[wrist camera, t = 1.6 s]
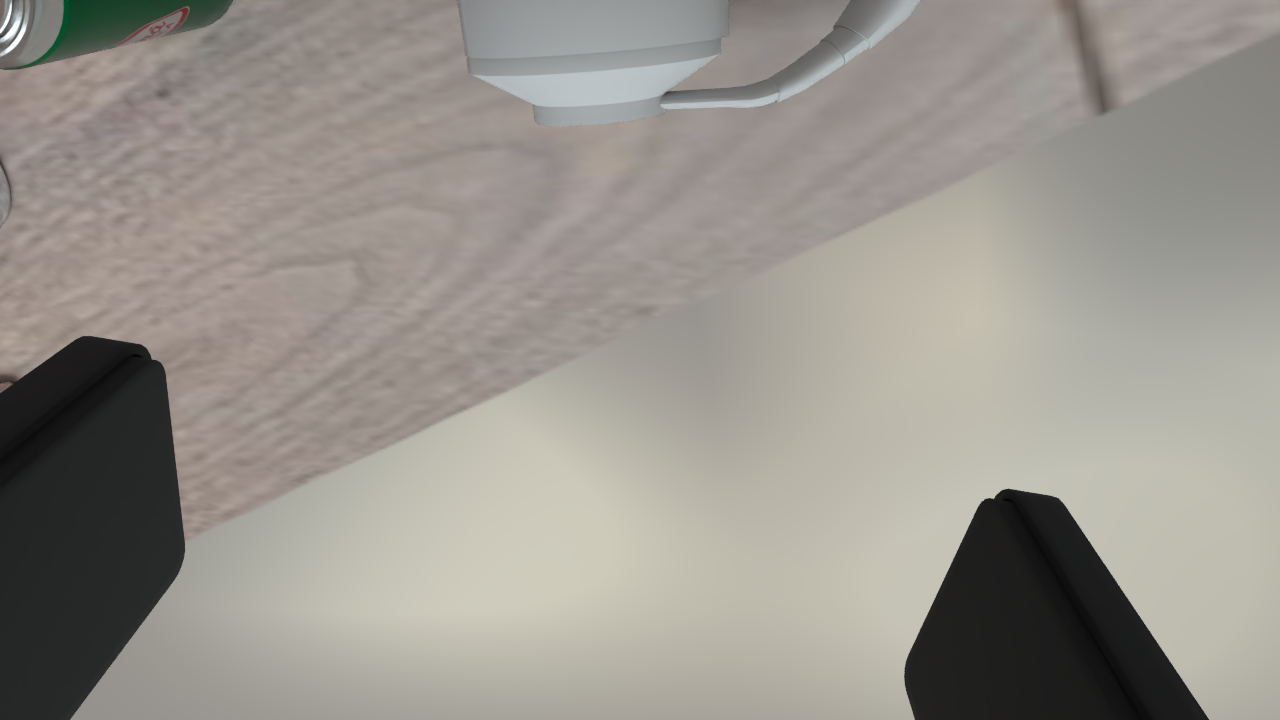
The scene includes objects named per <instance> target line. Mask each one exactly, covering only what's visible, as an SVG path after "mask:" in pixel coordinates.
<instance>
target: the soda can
mask: <svg viewBox="0 0 1280 720" xmlns="http://www.w3.org/2000/svg"><path fill="white" fill-rule="evenodd" d="M232 1H233V0H0V69H3V70H15V69H23V68H28V67H32V66H36V65H41V64H45V63H49V62H54V61H58V60H63V59H67V58H71V57H76V56H80V55H84V54H89V53H93V52H98V51H102V50H106V49H111V48H115V47H119V46H124V45H128V44H133V43H137V42H141V41H146V40H150V39H154V38H159V37H163V36H168V35H172V34H176V33H181V32H185V31H189V30H194V29H198V28H203V27H206V26H208V25H210V24H213V23H214V22H216V21H217V20H219V19H220V18H221V17H222V16H223V15H224V14H225V13H226V12H227V10H228V9H229V7H230V5H231V4H232Z"/></svg>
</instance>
